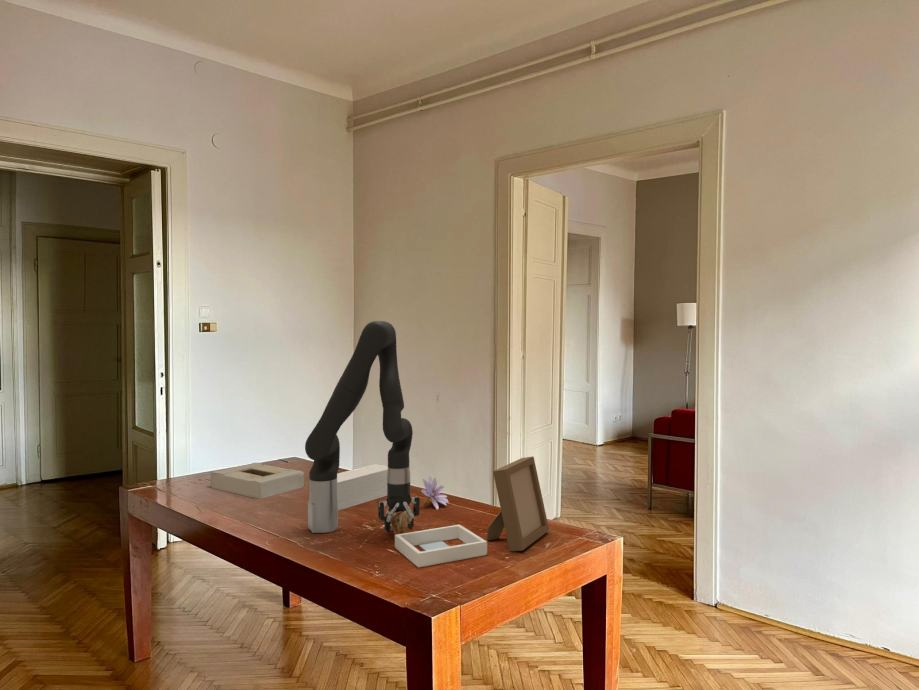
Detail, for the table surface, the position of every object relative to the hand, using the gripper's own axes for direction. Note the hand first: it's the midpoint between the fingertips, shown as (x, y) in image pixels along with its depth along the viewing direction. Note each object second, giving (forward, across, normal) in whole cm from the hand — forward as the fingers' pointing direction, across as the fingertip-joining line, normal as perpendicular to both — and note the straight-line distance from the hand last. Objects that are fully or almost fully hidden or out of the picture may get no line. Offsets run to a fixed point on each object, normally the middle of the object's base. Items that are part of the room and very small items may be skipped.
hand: (399, 530), depth 217 cm
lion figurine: (+2, 0, +1) cm, 2 cm away
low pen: (+2, +6, -19) cm, 20 cm away
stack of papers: (+2, +1, +48) cm, 48 cm away
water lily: (+2, +25, +26) cm, 36 cm away
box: (+2, -30, +85) cm, 90 cm away
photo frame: (+2, +32, -20) cm, 38 cm away
